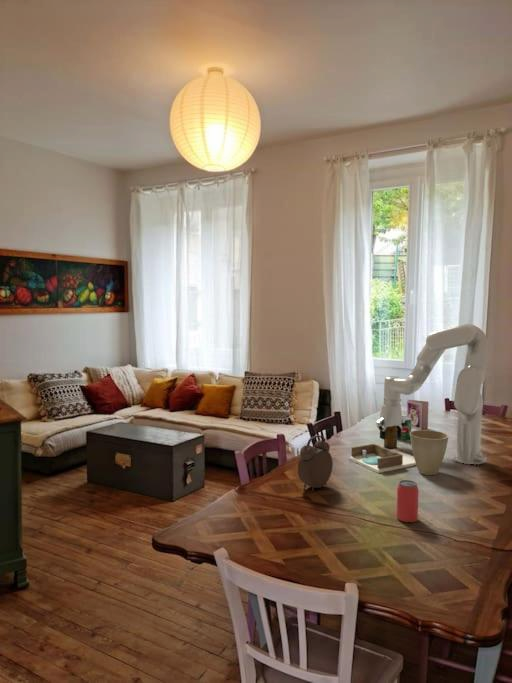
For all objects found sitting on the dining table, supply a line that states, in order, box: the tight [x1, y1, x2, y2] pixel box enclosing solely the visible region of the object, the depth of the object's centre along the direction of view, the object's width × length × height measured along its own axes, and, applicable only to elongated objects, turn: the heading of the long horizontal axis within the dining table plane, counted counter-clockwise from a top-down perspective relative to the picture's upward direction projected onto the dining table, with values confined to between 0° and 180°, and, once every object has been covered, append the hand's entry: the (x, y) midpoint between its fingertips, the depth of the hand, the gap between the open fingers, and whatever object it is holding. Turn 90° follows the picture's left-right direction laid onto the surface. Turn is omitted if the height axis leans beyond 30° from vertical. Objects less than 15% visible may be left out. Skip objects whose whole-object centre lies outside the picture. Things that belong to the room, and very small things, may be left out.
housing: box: [351, 443, 403, 469], centre depth 217 cm, size 18×13×4 cm
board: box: [348, 449, 417, 474], centre depth 220 cm, size 19×26×4 cm
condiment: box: [380, 426, 402, 451], centre depth 240 cm, size 7×8×12 cm
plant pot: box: [410, 429, 449, 476], centre depth 206 cm, size 15×15×16 cm
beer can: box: [396, 479, 420, 523], centre depth 163 cm, size 7×7×12 cm
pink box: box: [406, 399, 430, 430], centre depth 276 cm, size 11×7×15 cm, turn 25°
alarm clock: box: [297, 434, 333, 492], centre depth 189 cm, size 15×7×20 cm, turn 135°
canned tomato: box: [397, 415, 412, 442], centre depth 254 cm, size 8×8×11 cm
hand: (390, 437), depth 241 cm, fingers open, 9 cm apart
